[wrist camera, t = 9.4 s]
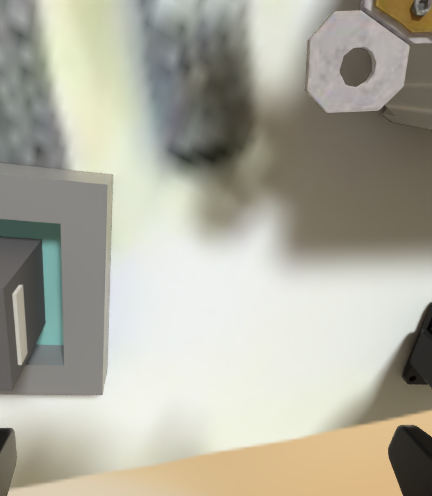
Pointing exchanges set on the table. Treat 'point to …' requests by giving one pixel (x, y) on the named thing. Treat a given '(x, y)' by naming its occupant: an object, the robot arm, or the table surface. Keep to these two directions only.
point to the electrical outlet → (376, 61)
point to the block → (19, 305)
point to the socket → (64, 272)
